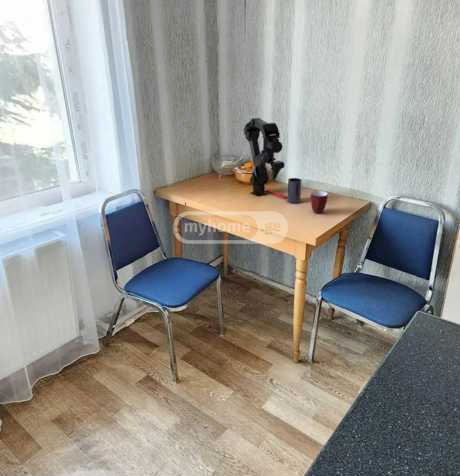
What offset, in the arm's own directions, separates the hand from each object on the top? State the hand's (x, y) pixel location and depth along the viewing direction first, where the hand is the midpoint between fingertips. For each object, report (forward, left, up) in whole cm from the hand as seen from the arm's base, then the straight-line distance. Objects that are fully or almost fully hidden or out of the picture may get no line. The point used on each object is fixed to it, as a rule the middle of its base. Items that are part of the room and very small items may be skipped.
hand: (267, 178), depth 207 cm
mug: (+28, +9, -13) cm, 32 cm away
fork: (-5, +11, -13) cm, 18 cm away
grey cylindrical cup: (+9, +11, -13) cm, 19 cm away
